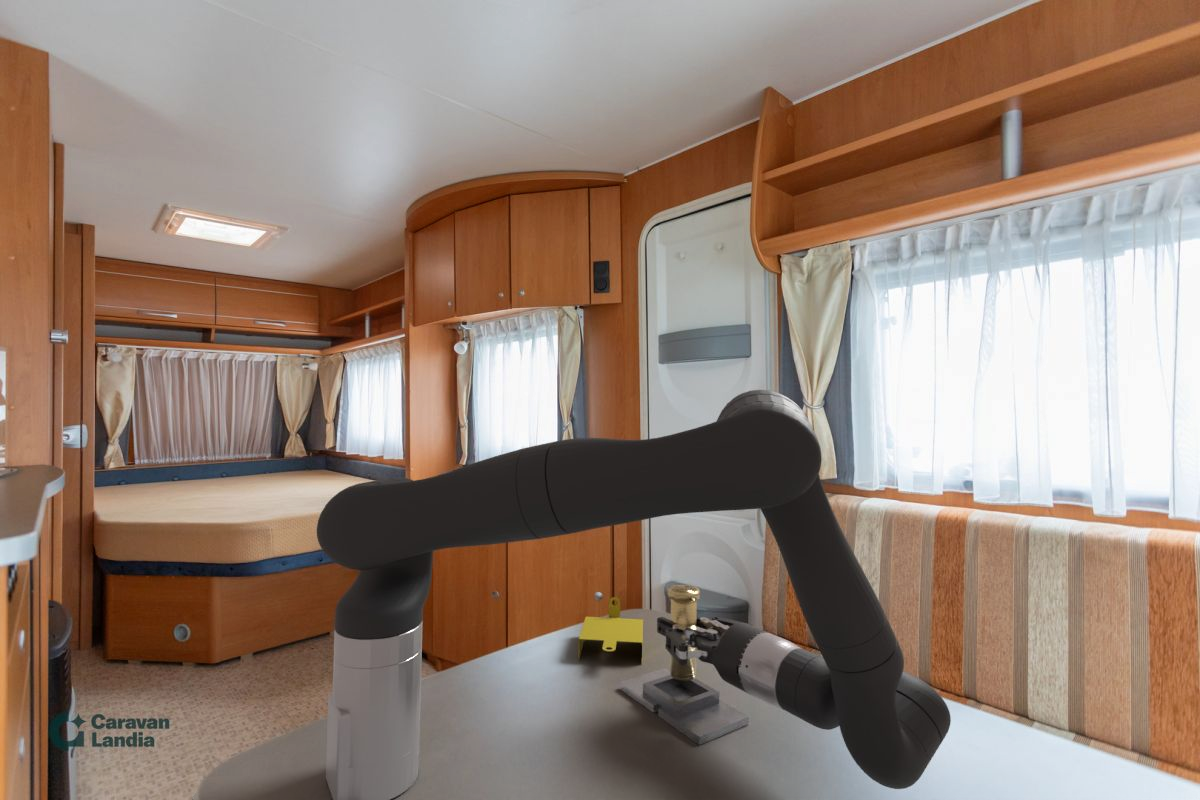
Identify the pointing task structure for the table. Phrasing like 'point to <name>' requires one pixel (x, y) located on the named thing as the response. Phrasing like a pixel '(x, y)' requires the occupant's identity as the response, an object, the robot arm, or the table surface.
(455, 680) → the table surface
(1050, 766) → the table surface
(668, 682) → the grey socket base plate
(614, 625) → the bracket
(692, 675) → the hinge pin
